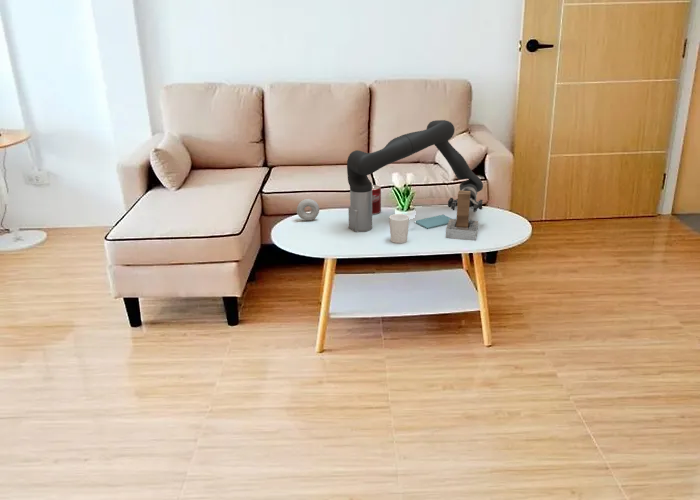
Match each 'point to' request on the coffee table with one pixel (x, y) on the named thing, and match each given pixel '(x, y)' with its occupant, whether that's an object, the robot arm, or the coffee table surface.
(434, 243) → the coffee table surface
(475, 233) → the socket block
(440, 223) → the slate mat
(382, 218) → the coffee table surface
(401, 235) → the beige cup
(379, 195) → the soda can
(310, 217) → the donut
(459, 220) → the walnut post
